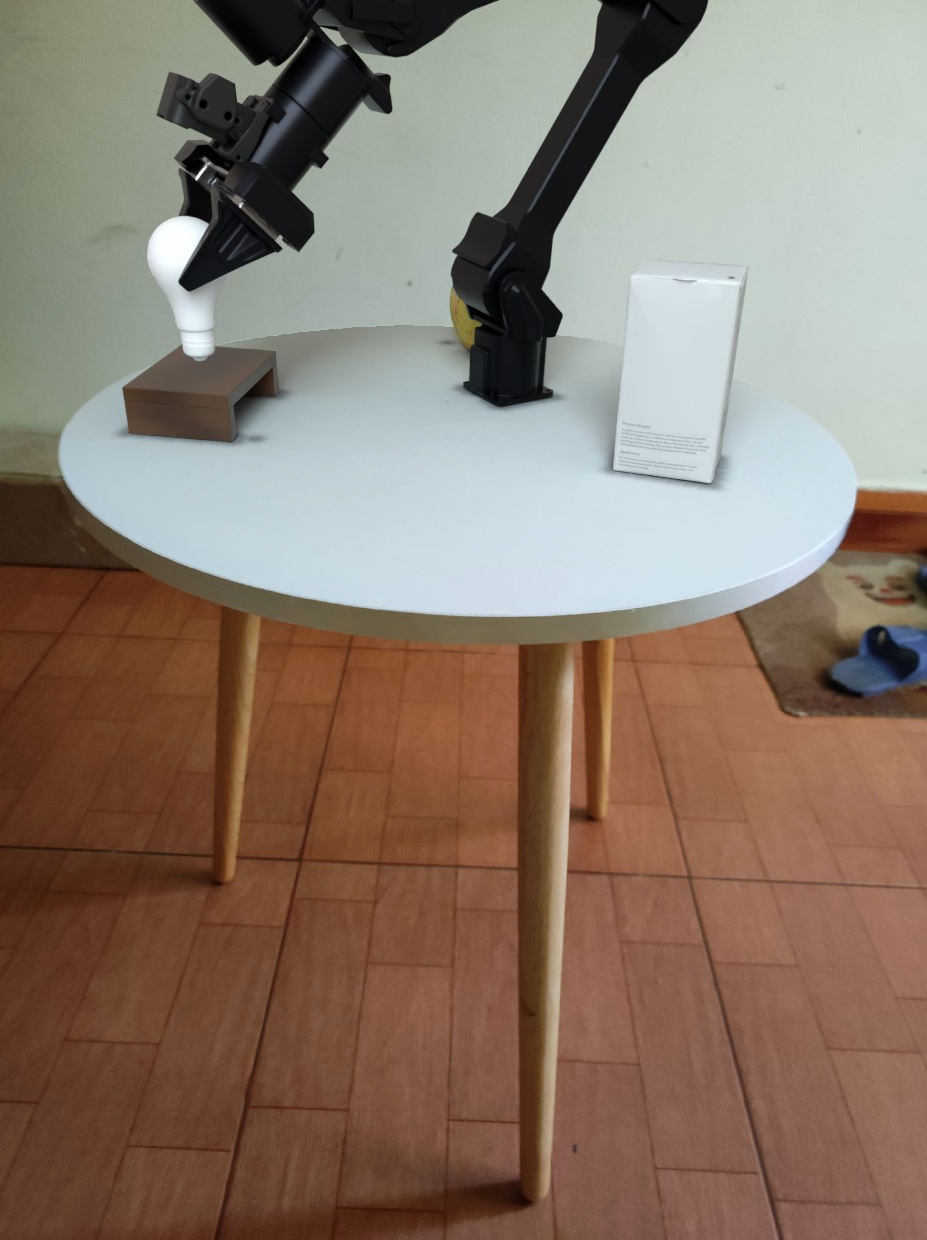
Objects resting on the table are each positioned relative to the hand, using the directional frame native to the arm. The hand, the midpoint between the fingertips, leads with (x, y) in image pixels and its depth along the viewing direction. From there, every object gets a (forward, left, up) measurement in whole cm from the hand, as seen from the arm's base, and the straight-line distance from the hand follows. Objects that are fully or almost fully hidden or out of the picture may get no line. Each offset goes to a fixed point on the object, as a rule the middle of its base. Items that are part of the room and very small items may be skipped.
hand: (173, 277), depth 77 cm
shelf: (-3, -5, -13) cm, 14 cm away
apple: (-36, -9, -13) cm, 40 cm away
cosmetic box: (-31, +24, -13) cm, 42 cm away
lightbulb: (-1, 0, -7) cm, 7 cm away
